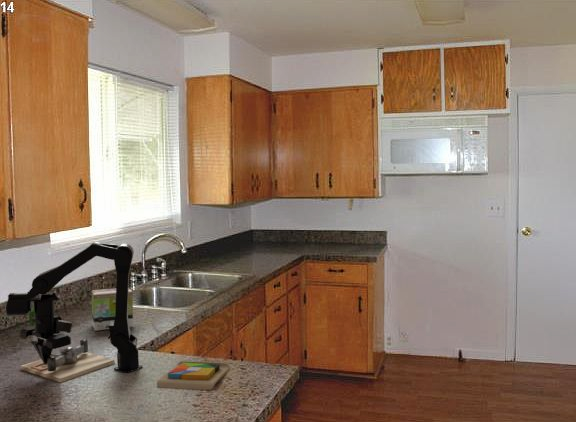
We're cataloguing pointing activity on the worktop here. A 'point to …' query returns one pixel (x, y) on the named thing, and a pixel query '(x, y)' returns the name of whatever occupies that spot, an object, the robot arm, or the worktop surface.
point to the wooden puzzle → (194, 375)
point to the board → (70, 367)
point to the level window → (39, 368)
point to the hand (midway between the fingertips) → (46, 363)
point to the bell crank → (67, 355)
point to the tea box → (107, 308)
